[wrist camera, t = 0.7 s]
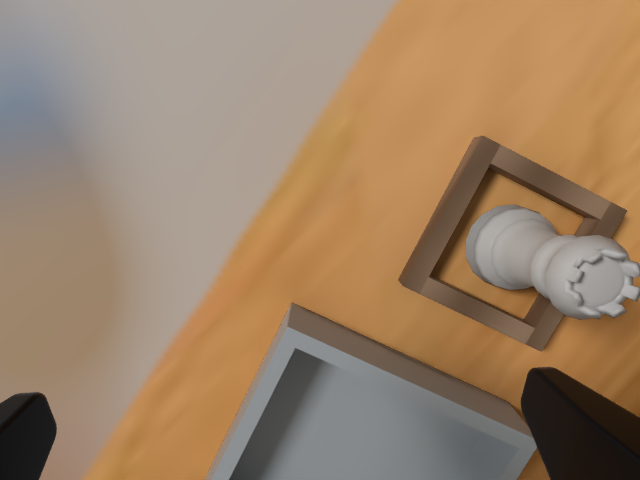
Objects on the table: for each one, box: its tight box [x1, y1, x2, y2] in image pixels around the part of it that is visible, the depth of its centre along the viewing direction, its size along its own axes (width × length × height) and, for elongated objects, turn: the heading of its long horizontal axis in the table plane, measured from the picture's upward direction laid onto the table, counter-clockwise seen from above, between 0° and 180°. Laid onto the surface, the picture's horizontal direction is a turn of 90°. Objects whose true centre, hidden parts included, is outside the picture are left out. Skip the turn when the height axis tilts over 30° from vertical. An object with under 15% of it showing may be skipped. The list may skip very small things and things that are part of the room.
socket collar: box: [398, 136, 627, 351], centre depth 21 cm, size 8×8×1 cm
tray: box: [205, 303, 537, 480], centre depth 22 cm, size 14×12×4 cm
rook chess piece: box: [466, 205, 640, 320], centre depth 18 cm, size 4×4×8 cm
